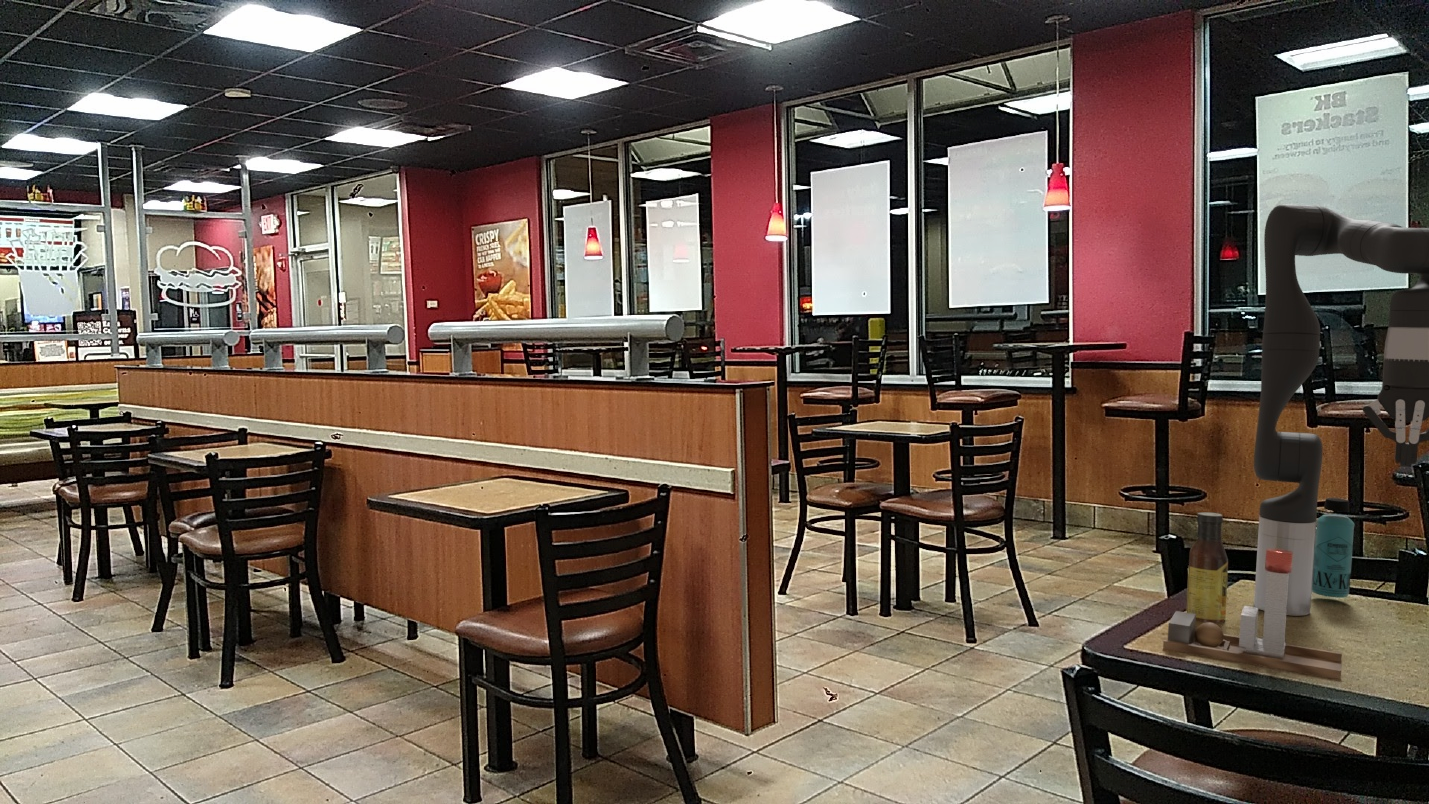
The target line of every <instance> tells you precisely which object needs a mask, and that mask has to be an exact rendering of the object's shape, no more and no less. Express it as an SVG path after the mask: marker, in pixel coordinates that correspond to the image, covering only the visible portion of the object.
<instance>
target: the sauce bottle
mask: <svg viewBox="0 0 1429 804" xmlns="http://www.w3.org/2000/svg"><path fill="white" fill-rule="evenodd" d="M1223 518H1224V517H1223V514H1222V513H1217V512H1216V513H1215V512H1208V511H1207V512H1198V513H1197V516H1196V522H1197V534H1196V537H1197V539H1196V541H1195V542H1194V544H1193V545H1192V546H1191V548H1190V550H1189V553H1188V554H1189V560H1188V564H1189V565H1187V567H1188V568H1187V595H1186V600H1187V601H1186V613H1193V614H1196V621H1199V622H1202V623H1206V622H1211V623H1214V624H1216V623H1223V622H1225V620H1226V617H1227V597H1228V596H1227V595H1228V574H1229V573H1228V570H1229V559H1228V555H1227V553H1226V550H1225V547H1224V543H1223V539H1222V524H1223V523H1224V521H1223V520H1224V519H1223Z"/></svg>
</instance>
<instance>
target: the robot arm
mask: <svg viewBox="0 0 1429 804" xmlns="http://www.w3.org/2000/svg"><path fill="white" fill-rule="evenodd" d="M1263 238H1264V242H1263V244H1264V245H1263V246H1264V267H1265V268H1264V269H1265V271H1264V272H1265V303H1264V304H1265V305H1264V319H1263V320H1264V321H1263V331H1262V344H1261V378H1260V380H1261V381H1260V382H1261V383H1260V399H1259V407H1258V408H1259V411H1258V418H1257V426H1256V434H1255V436H1256V437H1255V442H1254V453H1253V469H1254V474H1255V476H1256V477H1257V478H1258V479H1259V480H1261V481H1262V480H1263V481H1270V482H1271V481H1273V482H1283V483H1293V484H1295V483H1297V484H1298V486H1297V487H1296V488H1295V489H1294V490H1292V491H1291V492H1288V493H1285V494H1284V495H1279V496H1276V497H1271V498H1266V499H1264V500H1262V501H1261V502H1260V505H1259V513H1258V514H1259V515H1258V516H1259V518H1258V536H1257V551H1256V564H1255V565H1256V568H1255V582H1254V585H1255V586H1254V596H1253V597H1254V598H1253V599H1254V600H1253V607H1256V608H1258V610H1261V611H1262V612H1263V611H1264V612H1265V598H1266V581H1267V570H1265V558H1266V549H1282V550H1287V551H1291V552H1293V558H1292V572H1291V573H1289V579H1288V594H1287V610H1286V616H1293V617H1294V616H1295V617H1296V616H1297V617H1298V616H1307V615H1310V614H1311V607H1312V606H1311V605H1312V604H1311V603H1312V593H1313V592H1312V581H1313V566H1314V551H1315V540H1316V528H1317V519H1318V518H1317V515H1318V514H1317V512H1318V511H1317V510H1318V496H1319V488H1320V487H1319V486H1320V478H1321V473H1322V472H1321V471H1322V464H1323V455H1324V453H1323V443H1322V439H1321V437H1320V436H1319V435H1317V434H1316V433H1309V432H1308V433H1307V432H1294V431H1293V432H1292V431H1291V432H1289V431H1278V430H1277V424H1278V422H1279V419H1280V416H1281V415H1282V412H1283V410H1284V409H1285V408H1286V406H1287V405H1288V403H1289V401H1290V400H1291V399H1292V397H1293V396H1294V394H1295V393H1296V392H1297V391H1298V390H1299V389H1300V387H1301V386H1302V385H1303V384H1304V383H1305V381H1306V380H1307V379H1308V378H1309V377H1310V375H1311V374H1312V372H1314V370H1315V369H1316V366H1317V365H1318V362H1319V359H1320V343H1321V341H1320V340H1321V325H1320V322H1319V319H1318V317H1317V315H1316V313H1315V311H1314V309H1313V307H1312V306H1311V303H1310V302H1309V300H1308V299H1307V297H1306V295H1305V293H1304V292H1303V290H1302V288H1301V285H1300V284H1299V281H1298V277H1297V276H1298V275H1297V270H1296V269H1297V267H1296V256H1299V257H1300V256H1301V257H1302V256H1304V257H1315V256H1324V255H1337V254H1341V255H1343V256H1345V258H1348V259H1350V260H1352V261H1355V262H1358V263H1362V264H1367V265H1372V266H1376V267H1378V268H1379V269H1381V270H1383V271H1386V272H1388V273H1395V274H1409V275H1410V274H1415V275H1416V274H1417V275H1418V274H1419V275H1420V276H1419V278H1418V281H1417V282H1416V283H1415V285H1414V286H1413V287H1410V288H1405V289H1401V290H1398V291H1395V292H1394V293H1392V295H1391V297H1390V301H1389V314H1388V324H1387V325H1388V326H1387V327H1388V328H1387V333H1386V338H1385V343H1384V350H1383V369H1382V383H1381V390H1380V392H1379V393H1378V394H1377V399H1376V400H1374V401H1372V402H1370V403H1369V404H1365V405H1363V406H1362V412H1363V413H1364V414H1365V415H1366V416H1367V418H1368V419H1369V420H1370V422H1371V423H1372V425H1374V427H1376V429H1377V430H1378V431H1379V433H1380V434H1381V435H1382V436H1383V437H1384V438H1385V439H1390V440H1392V441H1394V442H1395V449H1394V450H1395V451H1394V459H1395V463H1396V464H1397V463H1398V464H1399V467H1401V468H1402V467H1403V468H1412V465H1415V464H1416V463H1417V461H1418V452H1419V451H1418V449H1419V445H1420V443H1422V442H1428V441H1429V427H1428V428H1427V429H1426V430H1425V431H1424V432H1421V429H1422V423H1423V422H1424V421H1427V420H1428V419H1429V227H1427V228H1426V227H1403V226H1401V225H1398V224H1396V223H1391V222H1385V221H1377V220H1370V219H1369V220H1368V219H1355V218H1352V217H1348V216H1346V215H1344V214H1342V213H1339V212H1338V211H1335V210H1332V209H1329V208H1327V207H1324V206H1319V205H1307V204H1291V203H1283V204H1278V205H1276V206H1274V207H1273V209H1271V211H1270V212H1269V214H1268V216H1267V219H1266V222H1265V226H1264V237H1263ZM1380 407H1382V408H1383V409H1384V410H1385V412H1386V413H1387V414H1388V416H1389V417H1390V418H1391V419H1392V420H1394V423H1395V424H1394V427H1395V431H1393V430H1391V429H1390V428H1389V427H1388V426H1387V425H1386V423H1385V422H1384V420H1382V419H1381V417H1380V416H1379V415H1380V414H1381V413H1382V411H1381V409H1380ZM1406 421H1410V427H1409V433H1408V442H1406V440H1407V438H1406Z"/></svg>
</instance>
